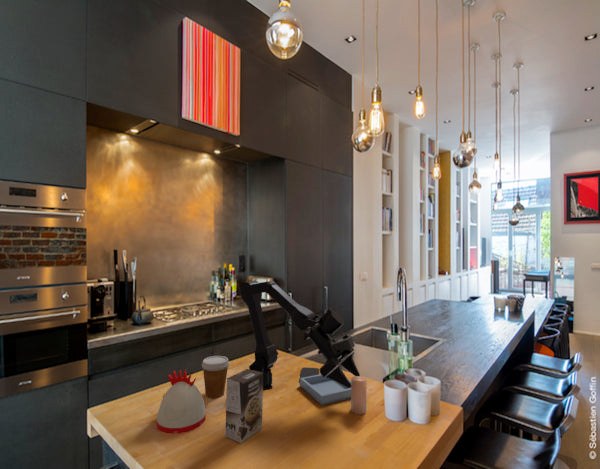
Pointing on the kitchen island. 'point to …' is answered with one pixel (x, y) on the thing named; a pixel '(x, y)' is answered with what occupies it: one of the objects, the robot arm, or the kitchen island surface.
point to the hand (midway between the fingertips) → (354, 381)
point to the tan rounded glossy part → (358, 395)
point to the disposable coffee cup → (215, 375)
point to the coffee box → (244, 405)
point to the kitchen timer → (181, 406)
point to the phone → (308, 372)
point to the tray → (325, 389)
